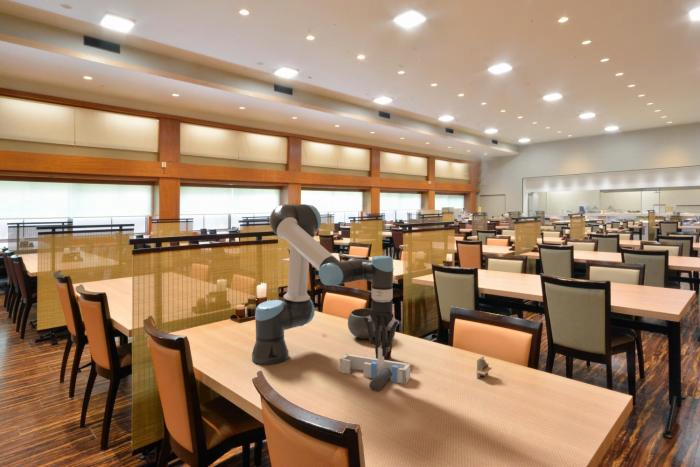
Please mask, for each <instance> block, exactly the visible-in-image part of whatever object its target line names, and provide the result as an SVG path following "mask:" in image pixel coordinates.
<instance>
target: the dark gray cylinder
mask: <svg viewBox="0 0 700 467" xmlns="http://www.w3.org/2000/svg"><path fill="white" fill-rule="evenodd" d="M390 378H392V372H391V370H390V369H389V368H386V367H385V368H383V369H382V370H381V371H380V372H379V373H378V374H377V375H376V376H375V378H374V379H373V378H372V379H371V381H369V388H370V390H371V391H372V392H379V391H380V390H381V389H382V388H383V386H385V384H386V383H387V382H388V381H389V379H390Z"/></svg>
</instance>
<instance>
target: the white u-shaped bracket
mask: <svg viewBox="0 0 700 467" xmlns="http://www.w3.org/2000/svg"><path fill="white" fill-rule="evenodd" d="M385 367H386V368H389V369H390V370H391V372H392V375H391V383H397V384H404V385H407V382H408V381H409V380H410V378H411V364H410V363H405V362H400V361H393V360H389V361H388V360H384V364H383V365H382V366H378V359H376V357H375V358H374V357H367V356H361V355H357V354H356V355H355V354H349V353H345V354H344V355H343V356H342V357H341V358H340V359H339V372H340V373H343V374H348V375H350V374H351V370H359V371H363V377H364V378H369V379H370V378H371V379H372V380H373V379H374V378H375V376H376V375H377V374H378V373H379V372H380V371H381V370H382V369H383V368H385Z"/></svg>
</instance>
